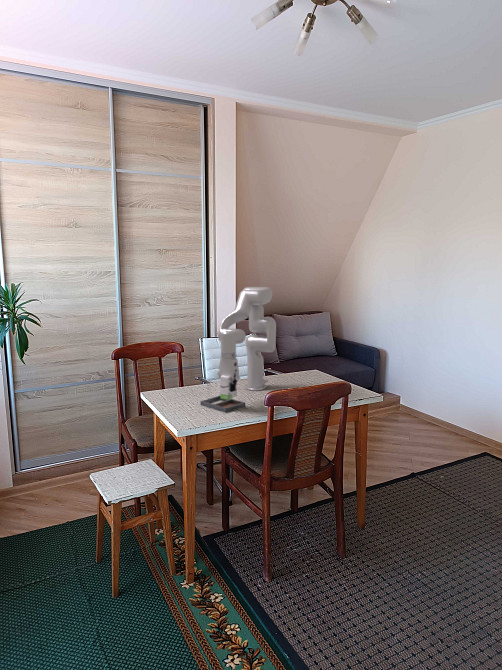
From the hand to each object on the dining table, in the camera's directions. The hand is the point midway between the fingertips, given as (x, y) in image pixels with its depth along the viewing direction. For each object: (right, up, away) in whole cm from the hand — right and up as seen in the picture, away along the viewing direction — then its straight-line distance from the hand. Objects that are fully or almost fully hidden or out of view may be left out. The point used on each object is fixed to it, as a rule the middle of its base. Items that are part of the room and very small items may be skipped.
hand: (228, 389), depth 239 cm
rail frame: (-3, -9, +5) cm, 10 cm away
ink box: (0, -4, +1) cm, 4 cm away
